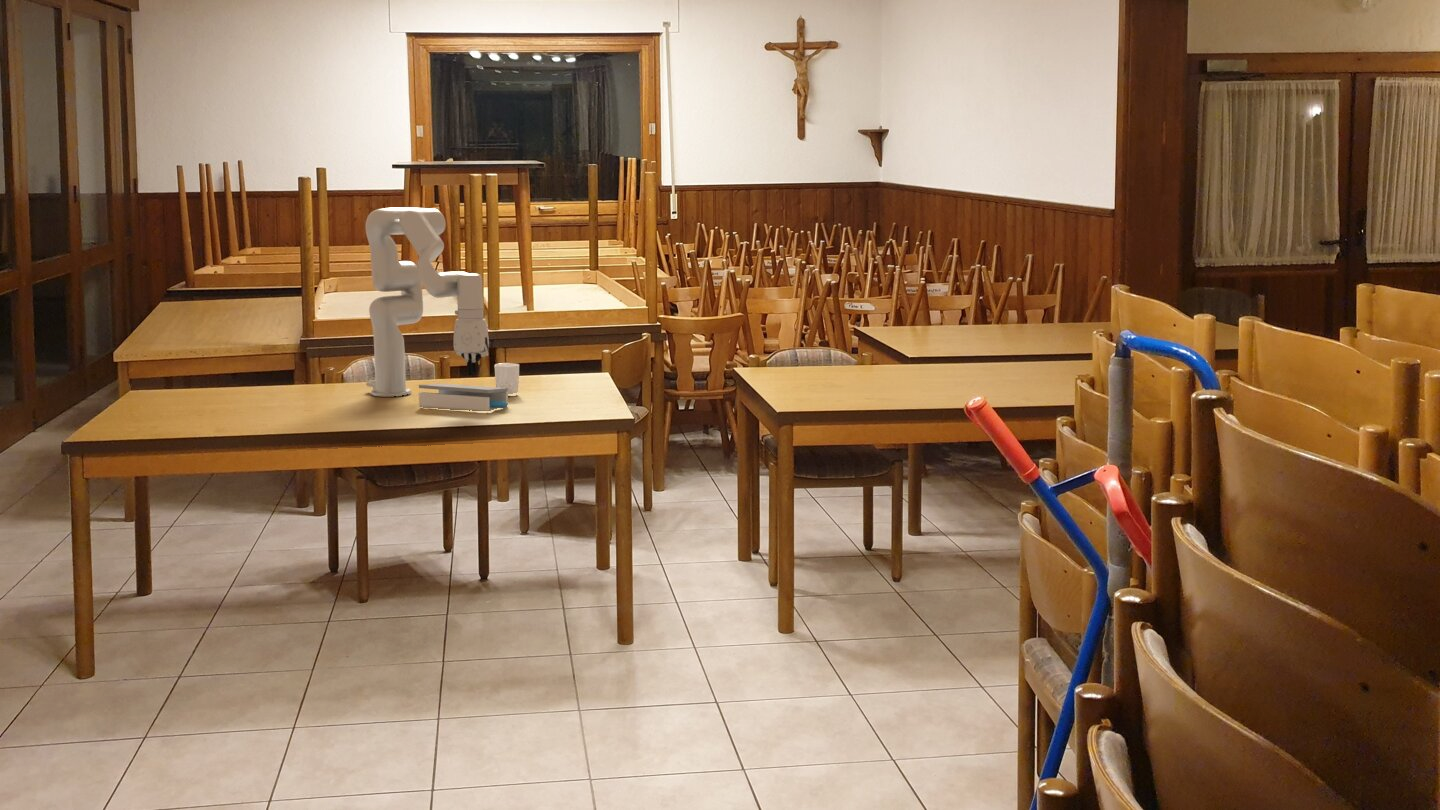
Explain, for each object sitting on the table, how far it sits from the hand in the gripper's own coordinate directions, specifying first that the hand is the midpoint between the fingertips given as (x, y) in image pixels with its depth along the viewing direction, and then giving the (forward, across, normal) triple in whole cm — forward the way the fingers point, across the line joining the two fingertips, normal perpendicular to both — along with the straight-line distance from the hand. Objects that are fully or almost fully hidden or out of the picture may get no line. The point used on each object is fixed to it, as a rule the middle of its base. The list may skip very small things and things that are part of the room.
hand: (472, 374), depth 431 cm
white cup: (+11, -4, +27) cm, 29 cm away
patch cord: (+10, -4, +2) cm, 11 cm away
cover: (+5, -5, +2) cm, 7 cm away
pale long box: (+11, -5, +2) cm, 12 cm away
